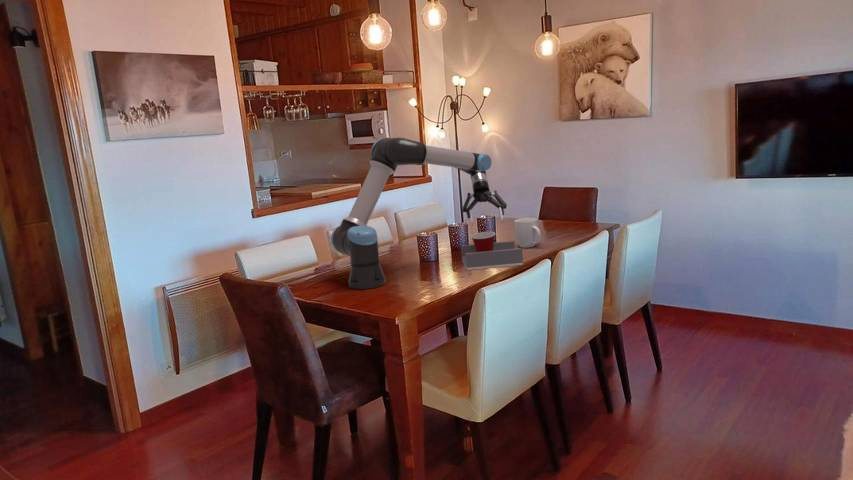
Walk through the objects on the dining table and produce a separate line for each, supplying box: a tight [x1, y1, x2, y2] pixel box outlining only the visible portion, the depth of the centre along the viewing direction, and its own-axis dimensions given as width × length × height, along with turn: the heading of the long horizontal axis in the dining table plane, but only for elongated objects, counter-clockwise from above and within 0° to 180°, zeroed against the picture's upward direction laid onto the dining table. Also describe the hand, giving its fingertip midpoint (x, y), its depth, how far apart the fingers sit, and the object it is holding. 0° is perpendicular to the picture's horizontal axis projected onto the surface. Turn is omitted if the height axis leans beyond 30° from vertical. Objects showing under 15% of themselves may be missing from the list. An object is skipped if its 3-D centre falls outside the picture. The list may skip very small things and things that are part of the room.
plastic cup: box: [470, 231, 496, 252], centre depth 258 cm, size 11×11×12 cm
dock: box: [461, 240, 524, 271], centre depth 258 cm, size 24×18×7 cm
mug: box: [514, 217, 542, 249], centre depth 282 cm, size 15×11×13 cm
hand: (487, 221), depth 264 cm, fingers open, 13 cm apart
